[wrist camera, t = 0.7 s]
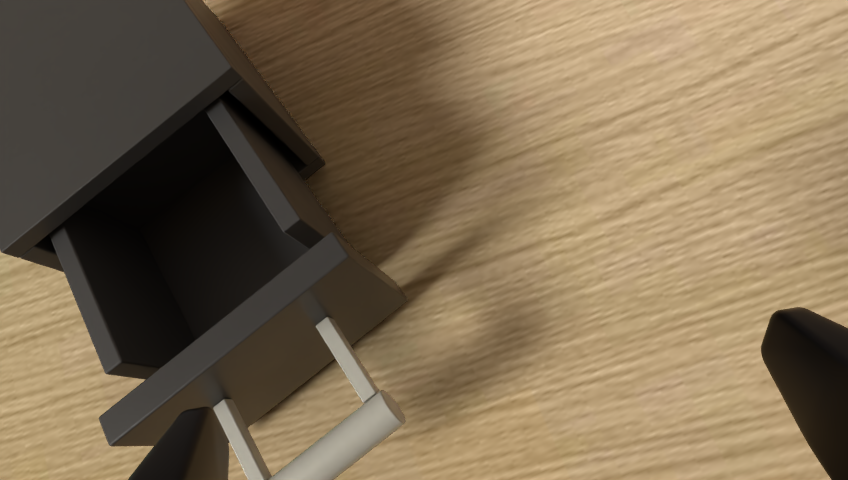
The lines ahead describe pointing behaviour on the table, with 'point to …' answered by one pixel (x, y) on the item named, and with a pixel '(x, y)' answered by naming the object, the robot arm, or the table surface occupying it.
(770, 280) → the table surface
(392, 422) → the pull-out drawer
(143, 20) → the drawer cabinet
